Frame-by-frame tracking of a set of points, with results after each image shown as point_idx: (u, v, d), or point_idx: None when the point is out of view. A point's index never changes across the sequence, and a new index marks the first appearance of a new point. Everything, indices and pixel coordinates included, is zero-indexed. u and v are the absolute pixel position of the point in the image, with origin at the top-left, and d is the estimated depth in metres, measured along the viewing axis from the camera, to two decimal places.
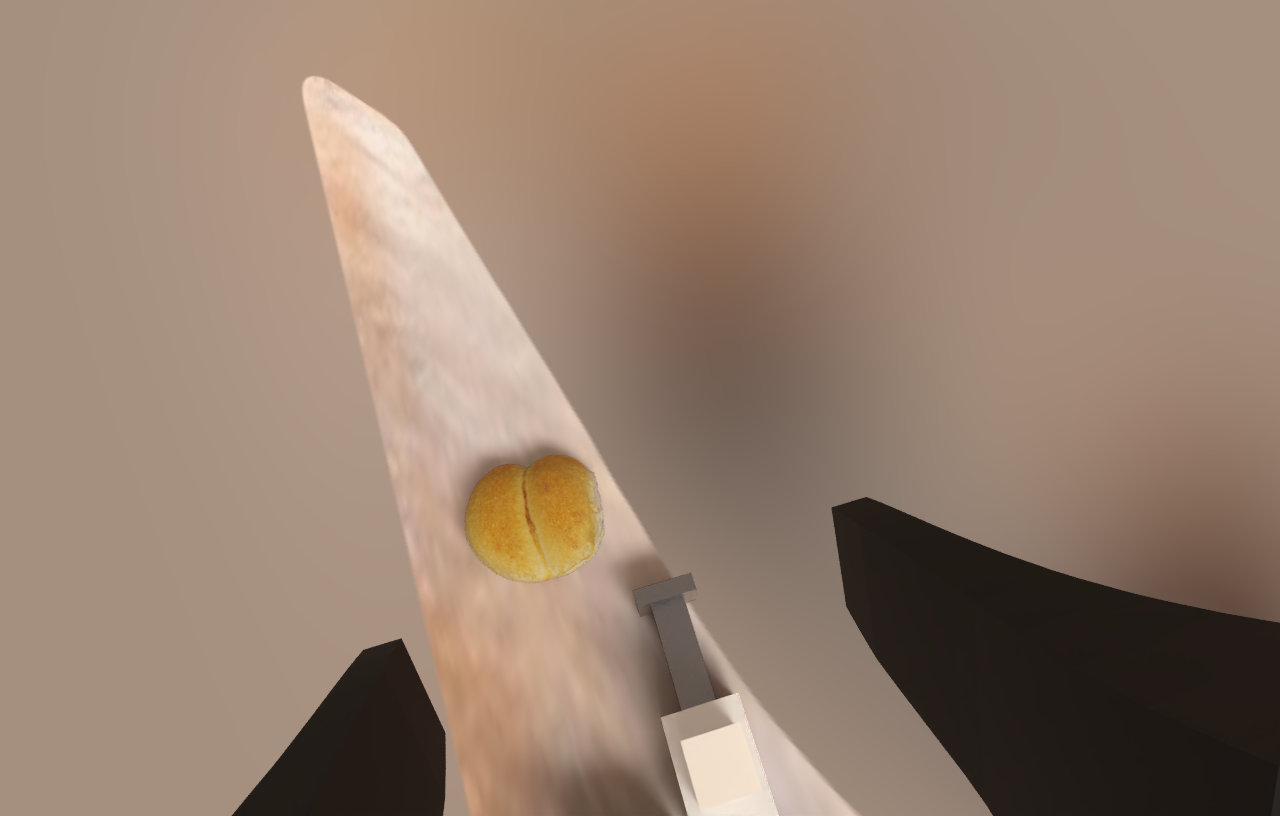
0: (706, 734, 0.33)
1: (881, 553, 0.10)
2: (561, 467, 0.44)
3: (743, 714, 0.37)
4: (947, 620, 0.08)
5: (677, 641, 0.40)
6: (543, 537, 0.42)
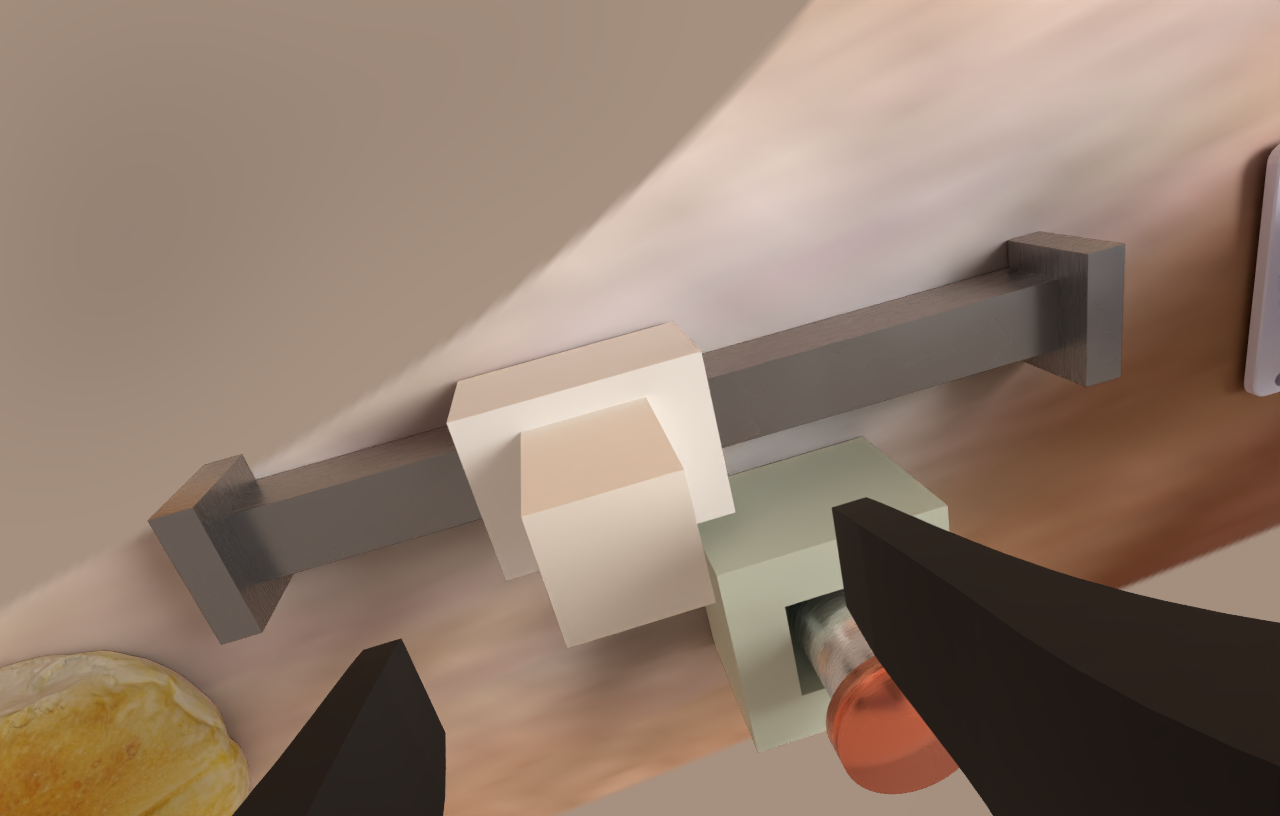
0: (552, 593, 0.13)
1: (881, 553, 0.10)
2: None
3: (495, 413, 0.16)
4: (947, 620, 0.08)
5: (339, 527, 0.17)
6: None
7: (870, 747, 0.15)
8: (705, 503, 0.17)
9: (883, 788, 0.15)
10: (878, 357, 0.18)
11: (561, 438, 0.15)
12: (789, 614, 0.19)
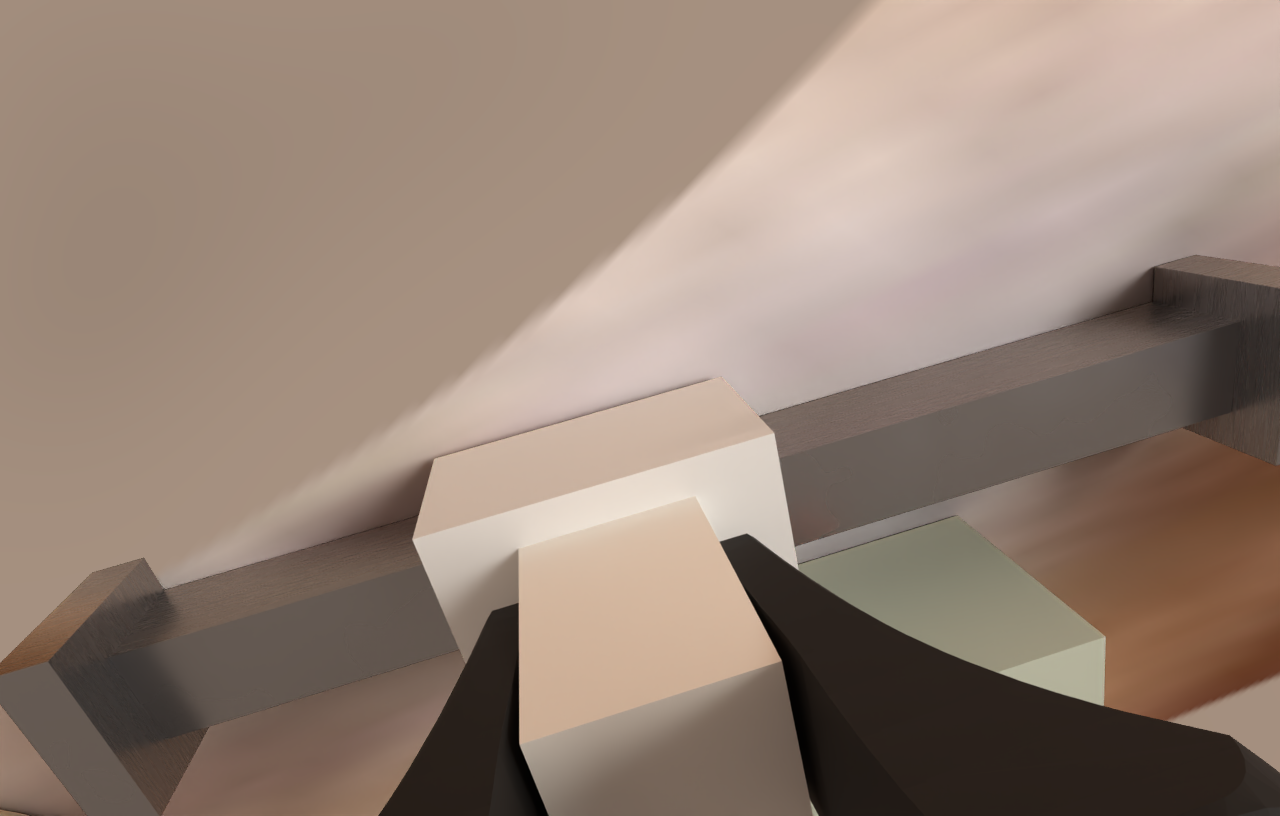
0: None
1: None
2: None
3: (483, 524, 0.11)
4: (789, 671, 0.08)
5: (269, 666, 0.13)
6: None
7: None
8: None
9: None
10: (1000, 427, 0.13)
11: (578, 567, 0.10)
12: None
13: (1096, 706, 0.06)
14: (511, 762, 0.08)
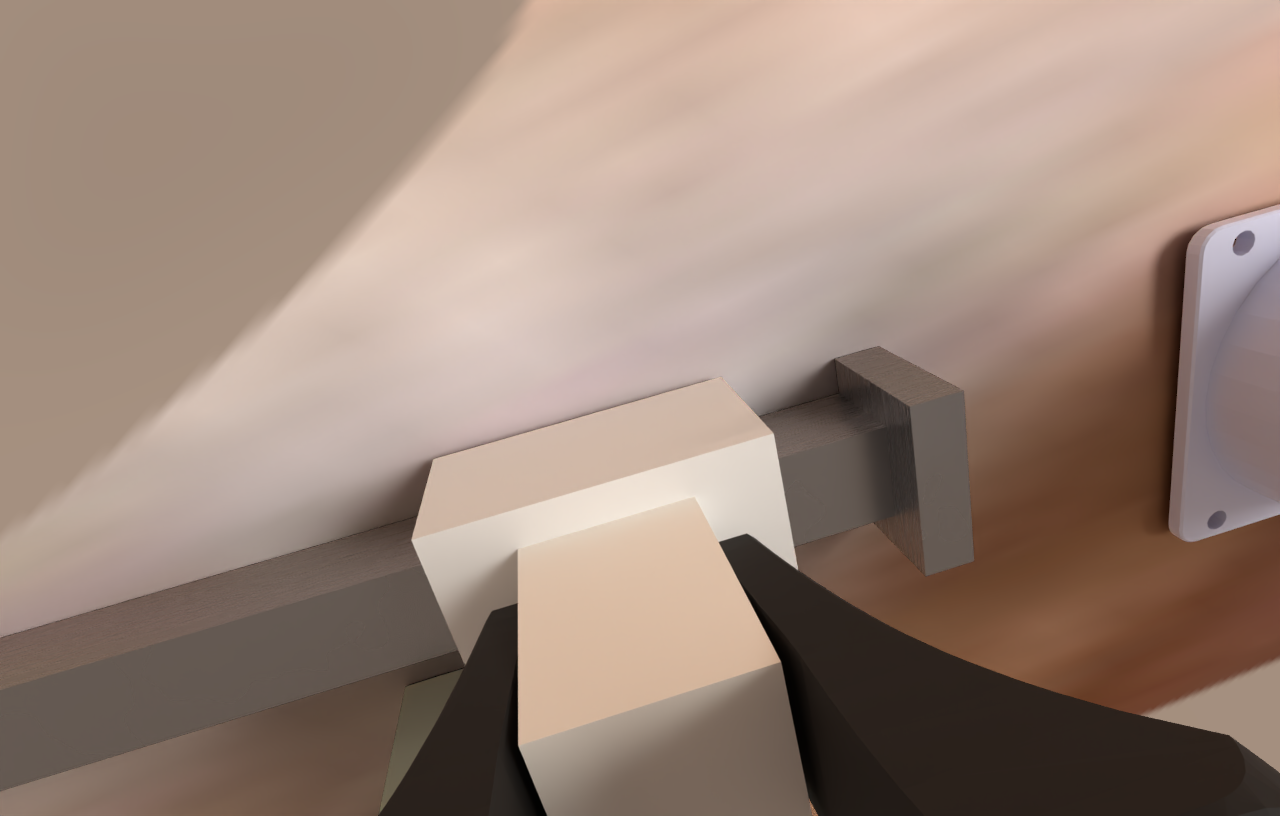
0: None
1: None
2: None
3: (482, 524, 0.11)
4: (789, 670, 0.08)
5: None
6: None
7: None
8: None
9: None
10: None
11: (577, 568, 0.10)
12: None
13: (1095, 706, 0.06)
14: (511, 761, 0.08)
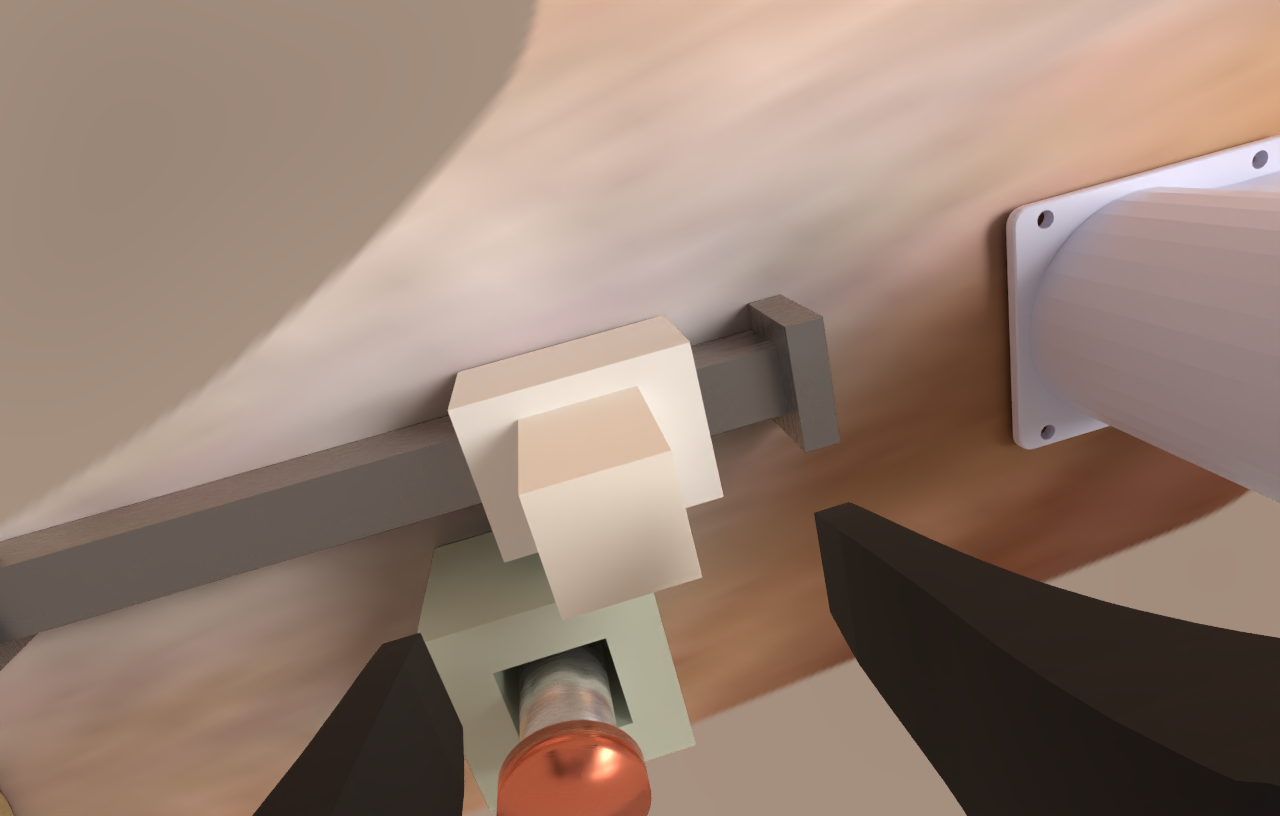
0: (547, 567, 0.14)
1: (861, 559, 0.10)
2: None
3: (494, 401, 0.16)
4: (924, 627, 0.08)
5: (53, 596, 0.17)
6: None
7: None
8: (694, 488, 0.18)
9: None
10: None
11: (556, 424, 0.16)
12: (519, 675, 0.19)
13: None
14: (358, 810, 0.07)
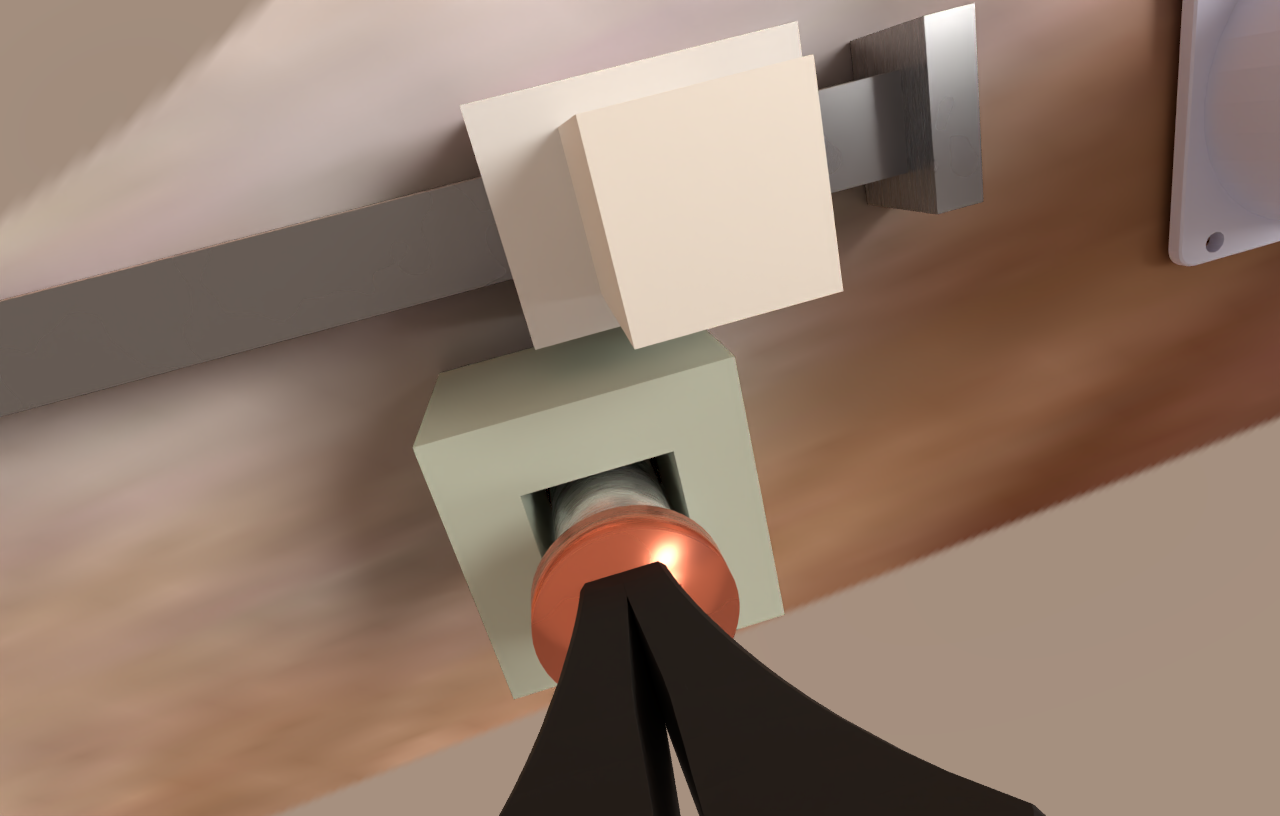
0: (616, 254, 0.09)
1: (639, 628, 0.09)
2: None
3: (525, 95, 0.12)
4: (671, 708, 0.08)
5: None
6: None
7: None
8: None
9: None
10: None
11: None
12: (551, 501, 0.15)
13: (925, 763, 0.05)
14: (640, 719, 0.08)
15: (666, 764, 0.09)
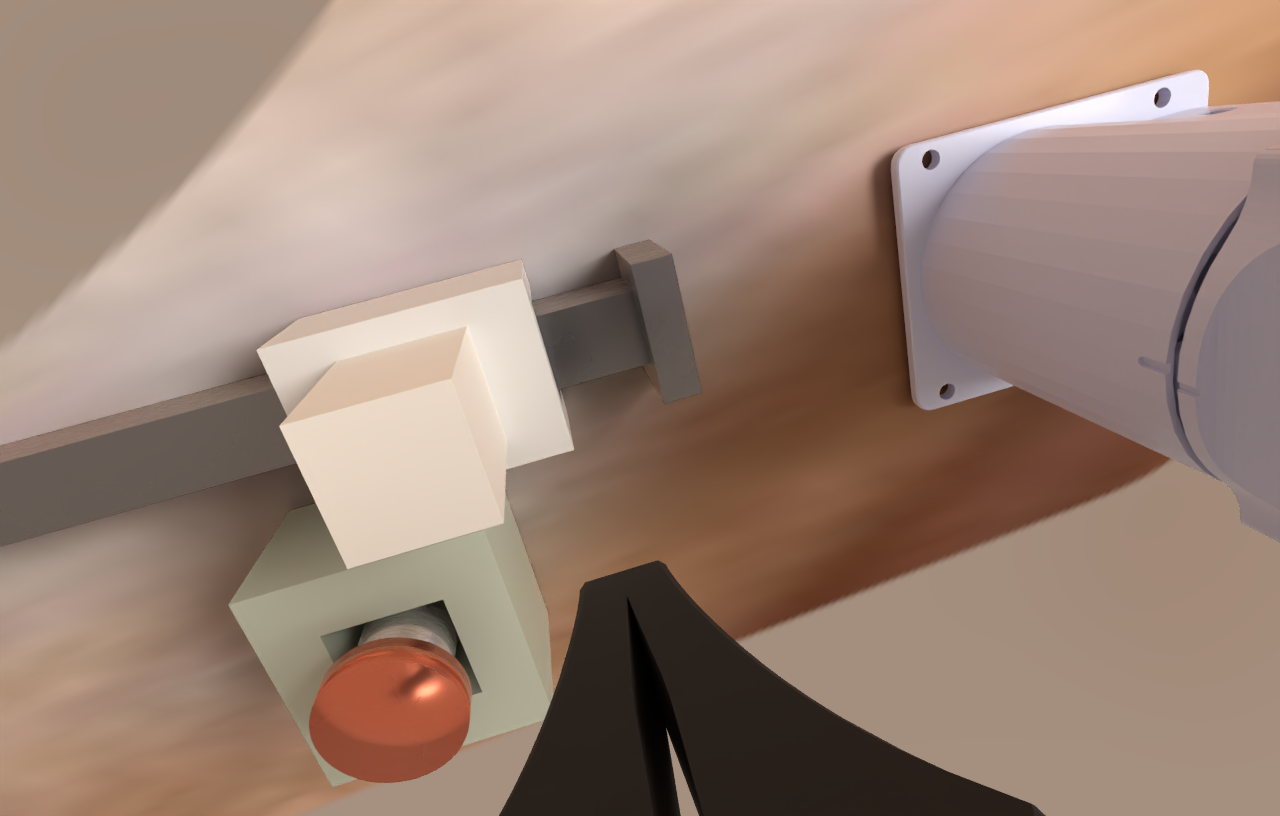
0: (324, 509, 0.12)
1: (639, 628, 0.09)
2: None
3: (308, 340, 0.15)
4: (670, 709, 0.08)
5: None
6: None
7: (343, 736, 0.15)
8: (541, 440, 0.17)
9: (372, 777, 0.16)
10: None
11: (367, 363, 0.14)
12: None
13: (925, 764, 0.05)
14: (640, 720, 0.08)
15: (666, 764, 0.09)
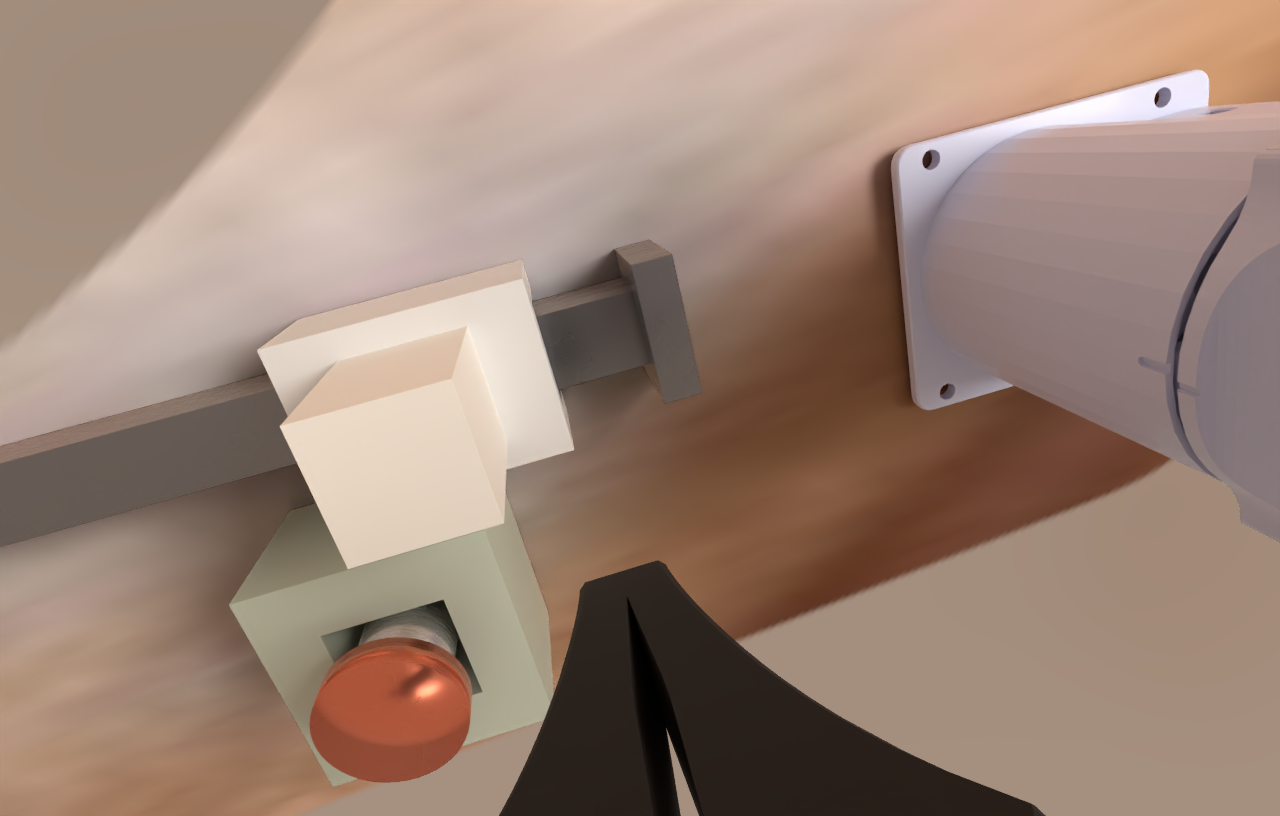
0: (324, 509, 0.12)
1: (639, 628, 0.09)
2: None
3: (308, 340, 0.15)
4: (671, 709, 0.08)
5: None
6: None
7: (344, 736, 0.15)
8: (541, 440, 0.17)
9: (373, 776, 0.16)
10: None
11: (367, 363, 0.15)
12: None
13: (924, 764, 0.05)
14: (640, 721, 0.08)
15: (666, 764, 0.09)
